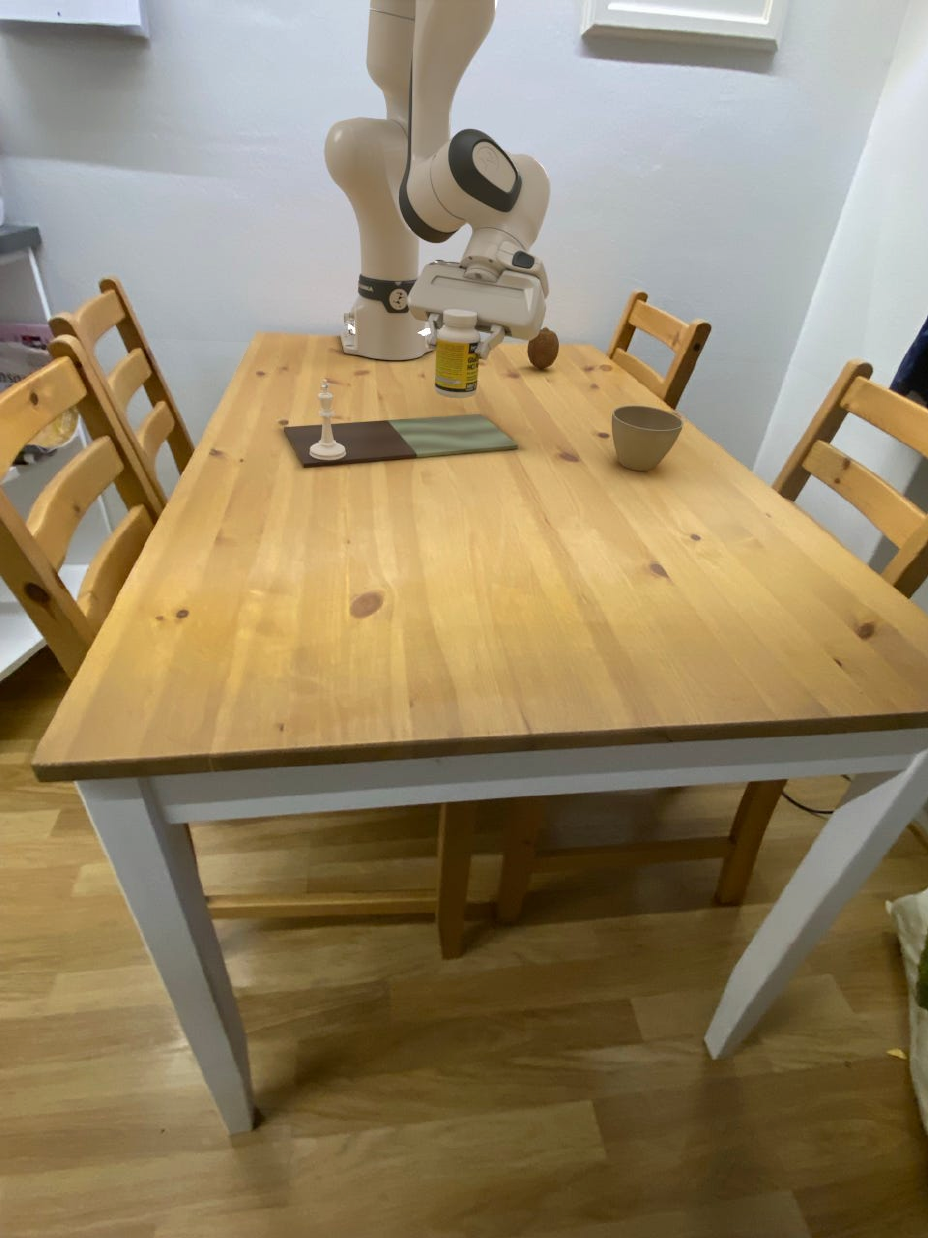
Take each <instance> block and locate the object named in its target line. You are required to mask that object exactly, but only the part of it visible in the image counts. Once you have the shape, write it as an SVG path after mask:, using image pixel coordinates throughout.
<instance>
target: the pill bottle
mask: <svg viewBox="0 0 928 1238" xmlns="http://www.w3.org/2000/svg"><path fill="white" fill-rule="evenodd" d="M443 322H444V323H445V325H443V327H442V328H441V329H440V330H437V331H438V333H437V347H436V350H435V351H436V352H435V372H434V391H435V392H436V393H437V394H438V395H440V396H443V397H447V398H452V399H467V398H470V397H473V396H474V395H476V393H477V388H478V376H479V365H480V363H479V362H480V359H478V358H476V355H475V354H474V351H475V348H476V347H477V343H478V341H480V342H482V340H481V332H479V331H477V330H476V329H475V327H474V326H475V325H476V323H477V313H475V312H472V311H466V310H461V309H449V310H445V311H444V313H443Z"/></svg>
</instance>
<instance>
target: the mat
mask: <svg viewBox="0 0 928 1238" xmlns="http://www.w3.org/2000/svg"><path fill="white" fill-rule="evenodd" d="M331 428H332V434H333V439H334V440H335V441H336V443H339V444H341V445H343V446H344V447H345V452H346V455H345V456H344V457H343V458H340V459H337V460H320V459H316V458H314V457H312V456H311V455H310V447H311V446H312V445H314V444H316V443H319V441H320V440H321V436H322V424H312V425H311V424H310V425H295V426H284V427H283V432H284V434H285V435H286V437H287V439H288V441H289V444H290V445H291V447H292V449H293V451H294V452H295V454H296V456H297V458H298V459H299V462H300V464H301V465H302V467H303V468H314V467H325V466H337V465H349V464H350V465H351V464H359V463H360V464H361V463H371V462H372V463H373V462H381V461H382V462H383V461H393V460H394V461H395V460H405V459H416V458H427V457H428V458H429V457H440V456H450V455H451V456H452V455H462V454H472V453H485V452H494V451H496V452H497V451H506V450H507V451H508V450H518V448H519V444H517V443H516V442H515V441H514V440H513V439H511V438H510V437H509V435H507V434H505V433H504V432H503V431H502V430H501V429H499V428H498V427H497V426H496V425H495V424H493V423H492V422H491V421H490V420H489V419H488V418H486V417H485V416H484V415H483V414H481V413H474V414H457V415H443V416H430V417H415V418H414V417H413V418H412V417H411V418H400V419H399V418H398V419H385V420H384V419H383V420H370V421H355V422H354V421H353V422H339V423H331Z"/></svg>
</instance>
